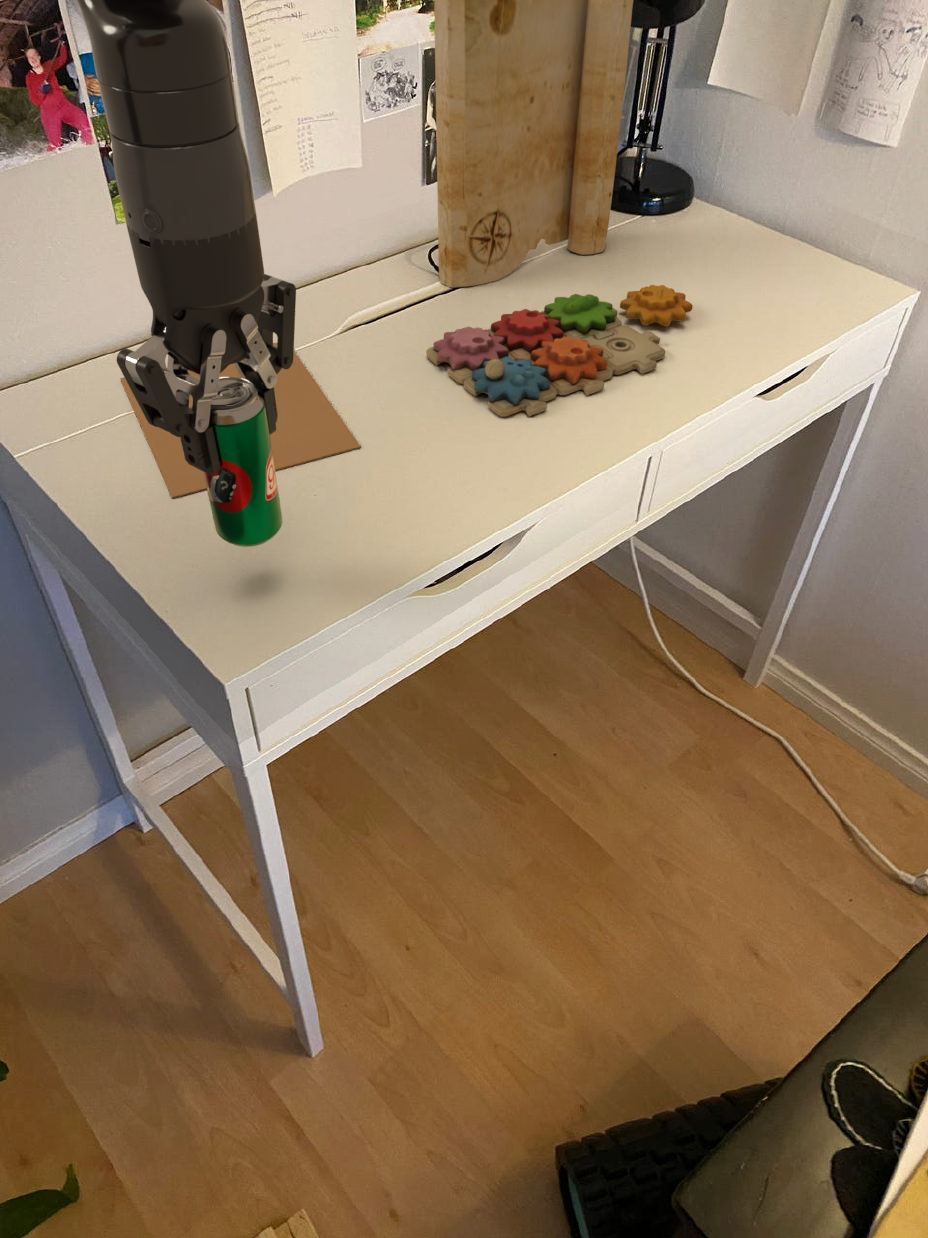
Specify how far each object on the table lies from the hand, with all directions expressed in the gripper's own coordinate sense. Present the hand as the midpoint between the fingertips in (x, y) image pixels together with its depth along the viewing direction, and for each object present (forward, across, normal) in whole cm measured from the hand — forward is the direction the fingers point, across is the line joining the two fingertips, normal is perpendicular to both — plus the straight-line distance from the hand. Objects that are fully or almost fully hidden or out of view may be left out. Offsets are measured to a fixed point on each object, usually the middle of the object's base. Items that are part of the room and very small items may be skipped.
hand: (234, 448), depth 68 cm
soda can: (+8, 0, 0) cm, 8 cm away
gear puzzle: (+13, -48, +3) cm, 49 cm away
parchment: (+13, -62, -13) cm, 64 cm away
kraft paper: (+13, -17, -19) cm, 29 cm away
